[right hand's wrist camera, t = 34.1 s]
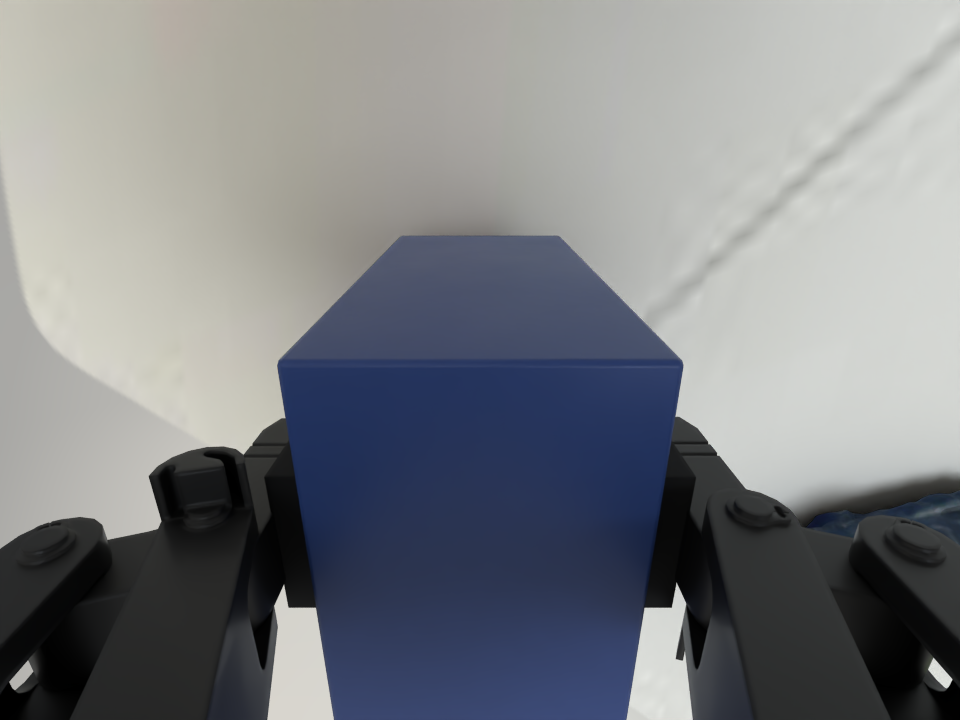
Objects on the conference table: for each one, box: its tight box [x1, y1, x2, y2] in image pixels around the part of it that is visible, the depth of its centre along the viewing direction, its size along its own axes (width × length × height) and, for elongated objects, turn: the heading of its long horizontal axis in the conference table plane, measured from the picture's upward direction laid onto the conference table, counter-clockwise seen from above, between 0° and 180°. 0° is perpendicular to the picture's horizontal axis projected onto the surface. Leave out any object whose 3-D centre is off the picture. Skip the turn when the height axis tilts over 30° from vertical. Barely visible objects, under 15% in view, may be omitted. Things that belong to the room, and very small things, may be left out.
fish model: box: [806, 490, 960, 545], centre depth 24 cm, size 7×21×5 cm, turn 95°
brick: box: [277, 236, 683, 720], centre depth 13 cm, size 5×7×11 cm
